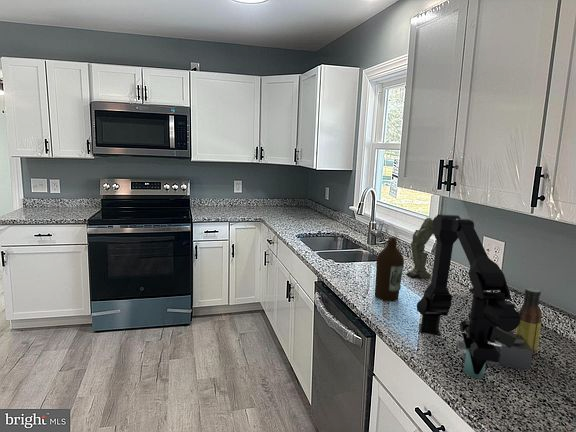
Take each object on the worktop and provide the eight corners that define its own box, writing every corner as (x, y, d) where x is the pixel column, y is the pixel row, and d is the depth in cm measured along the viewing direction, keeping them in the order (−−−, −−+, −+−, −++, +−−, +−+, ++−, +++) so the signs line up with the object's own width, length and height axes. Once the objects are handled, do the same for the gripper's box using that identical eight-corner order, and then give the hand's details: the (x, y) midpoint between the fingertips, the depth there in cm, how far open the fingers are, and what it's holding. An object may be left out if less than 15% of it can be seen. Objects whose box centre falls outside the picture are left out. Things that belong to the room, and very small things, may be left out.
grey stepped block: (456, 343, 125) (459, 322, 124) (518, 353, 121) (521, 331, 120) (462, 359, 116) (466, 336, 115) (529, 370, 112) (533, 347, 111)
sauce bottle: (527, 346, 126) (537, 286, 123) (541, 356, 120) (552, 293, 117) (508, 346, 126) (517, 285, 123) (521, 356, 120) (531, 292, 117)
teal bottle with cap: (462, 366, 112) (465, 343, 110) (481, 369, 110) (485, 346, 109) (465, 376, 107) (469, 351, 106) (485, 379, 106) (489, 355, 104)
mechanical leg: (406, 277, 189) (426, 216, 186) (398, 272, 195) (417, 214, 193) (429, 283, 193) (450, 224, 190) (421, 278, 200) (440, 221, 197)
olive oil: (367, 294, 164) (373, 235, 160) (385, 291, 170) (391, 233, 166) (387, 303, 156) (393, 241, 151) (405, 299, 161) (412, 239, 157)
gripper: (528, 334, 95) (517, 394, 98) (505, 306, 113) (497, 357, 116) (477, 327, 98) (469, 385, 100) (463, 300, 116) (456, 350, 118)
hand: (474, 368), depth 108 cm, fingers closed on teal bottle with cap, 5 cm apart
